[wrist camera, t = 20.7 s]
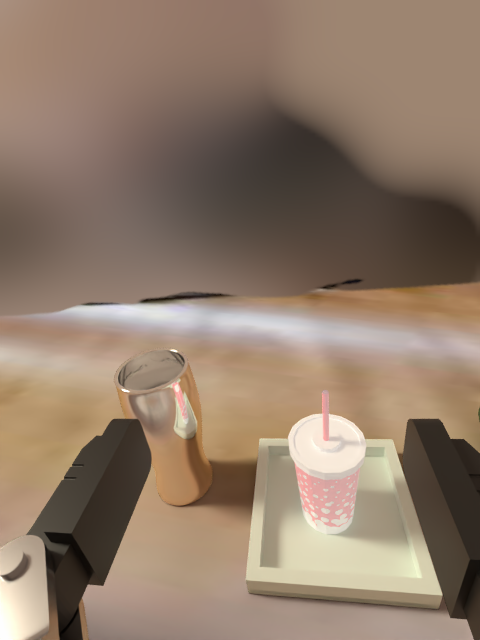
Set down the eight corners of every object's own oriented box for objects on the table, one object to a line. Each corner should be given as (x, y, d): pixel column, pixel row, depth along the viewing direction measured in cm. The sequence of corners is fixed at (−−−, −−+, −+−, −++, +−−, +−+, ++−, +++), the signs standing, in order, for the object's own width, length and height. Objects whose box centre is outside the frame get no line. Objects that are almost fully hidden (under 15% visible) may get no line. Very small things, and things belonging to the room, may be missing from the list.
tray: (248, 593, 28) (245, 580, 27) (261, 451, 40) (259, 438, 39) (438, 609, 25) (442, 595, 25) (391, 452, 38) (392, 439, 37)
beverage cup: (364, 549, 29) (372, 427, 22) (290, 536, 31) (277, 418, 24) (361, 484, 34) (366, 369, 28) (297, 476, 36) (289, 365, 29)
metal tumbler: (229, 481, 37) (205, 366, 30) (171, 524, 34) (128, 407, 27) (196, 444, 42) (168, 338, 35) (143, 478, 39) (100, 369, 32)
